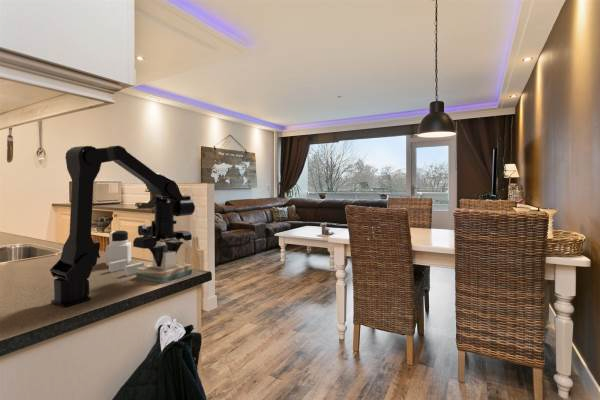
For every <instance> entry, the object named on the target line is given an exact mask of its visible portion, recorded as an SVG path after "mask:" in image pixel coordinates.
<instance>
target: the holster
mask: <svg viewBox="0 0 600 400" xmlns="http://www.w3.org/2000/svg"><path fill="white" fill-rule="evenodd" d="M142 266H145V263H144V262H136V263H133V264H129V263H128V260H127V259H124V260H120V261H115V262H111V263H109V266H108V273H114V272H118V271H123V270H124V276H126V277H128V276H132V275H136V268H138V267H142Z"/></svg>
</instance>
